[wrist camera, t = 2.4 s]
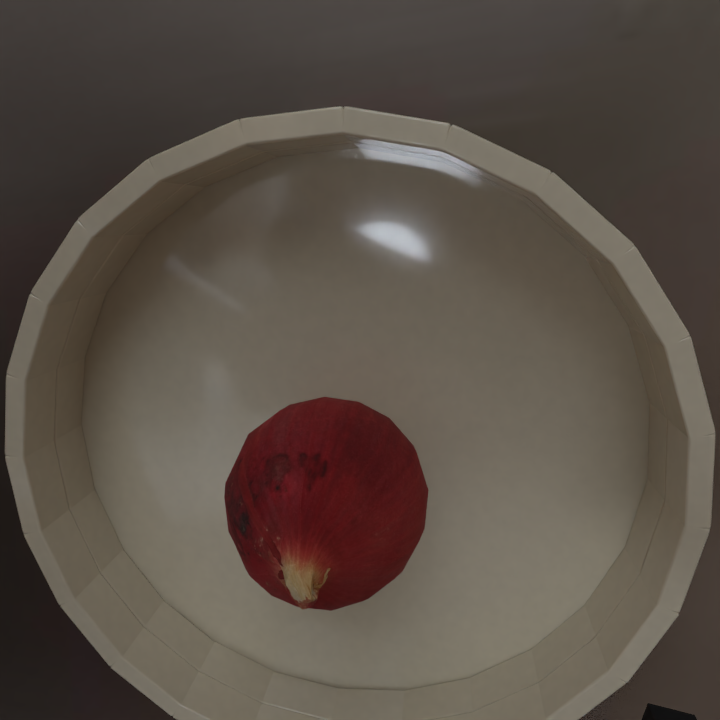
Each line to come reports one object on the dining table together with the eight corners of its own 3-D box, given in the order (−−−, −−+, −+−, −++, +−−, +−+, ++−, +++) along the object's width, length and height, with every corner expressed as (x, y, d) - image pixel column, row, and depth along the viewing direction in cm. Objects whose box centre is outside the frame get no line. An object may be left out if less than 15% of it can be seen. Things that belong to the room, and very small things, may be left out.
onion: (244, 479, 22) (132, 624, 14) (305, 342, 20) (218, 420, 12) (386, 549, 21) (354, 736, 14) (459, 417, 20) (468, 544, 12)
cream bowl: (85, 79, 19) (9, 50, 16) (762, 192, 17) (839, 186, 14) (60, 623, 25) (-1, 687, 21) (571, 756, 23) (593, 850, 19)
